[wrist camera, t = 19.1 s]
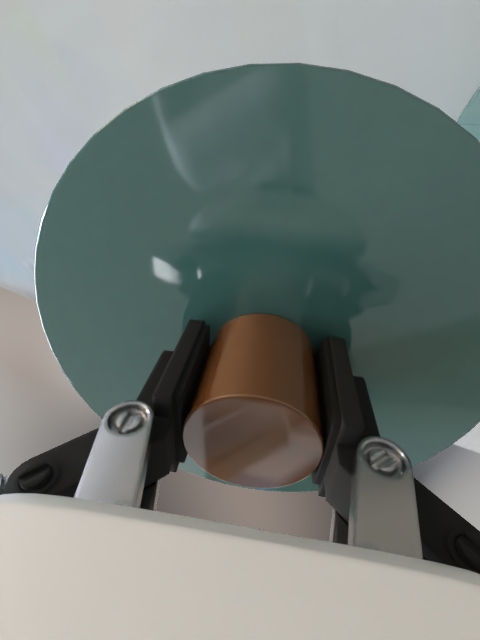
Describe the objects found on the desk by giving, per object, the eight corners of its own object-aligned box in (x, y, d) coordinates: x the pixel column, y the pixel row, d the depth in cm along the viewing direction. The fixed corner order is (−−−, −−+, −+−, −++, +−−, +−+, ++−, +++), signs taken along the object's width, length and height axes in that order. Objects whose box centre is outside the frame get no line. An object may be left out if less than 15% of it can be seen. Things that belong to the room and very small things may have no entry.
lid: (96, 443, 19) (37, 541, 15) (-14, 48, 9) (-280, -8, 5) (411, 494, 18) (451, 619, 13) (665, 91, 8) (1116, 65, 4)
